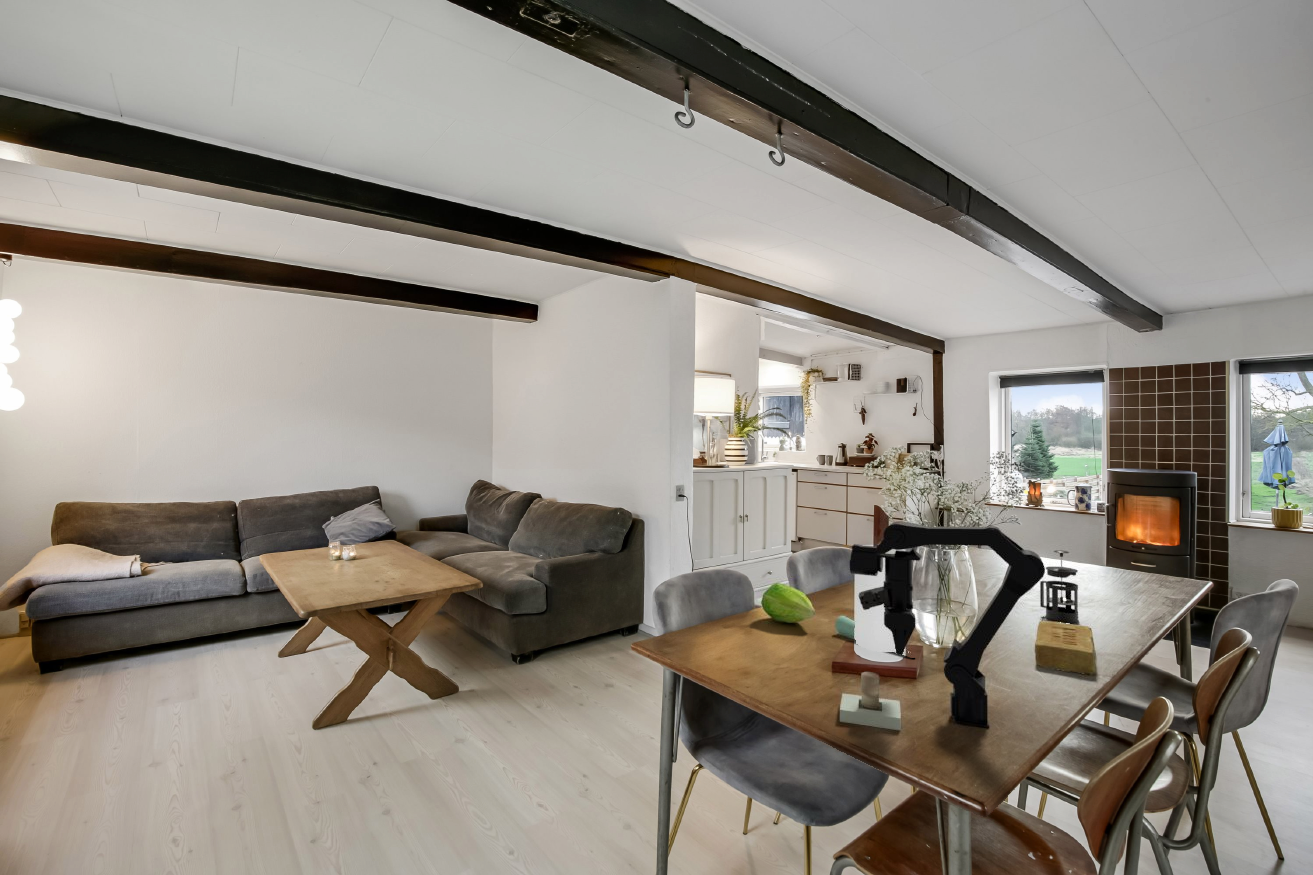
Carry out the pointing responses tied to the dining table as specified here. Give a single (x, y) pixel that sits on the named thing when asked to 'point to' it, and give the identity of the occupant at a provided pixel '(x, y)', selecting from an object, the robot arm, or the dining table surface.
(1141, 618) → the dining table surface
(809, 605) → the lettuce
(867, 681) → the peg
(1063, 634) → the brick
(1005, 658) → the dining table surface
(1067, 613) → the french press
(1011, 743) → the dining table surface
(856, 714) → the board
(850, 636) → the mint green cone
